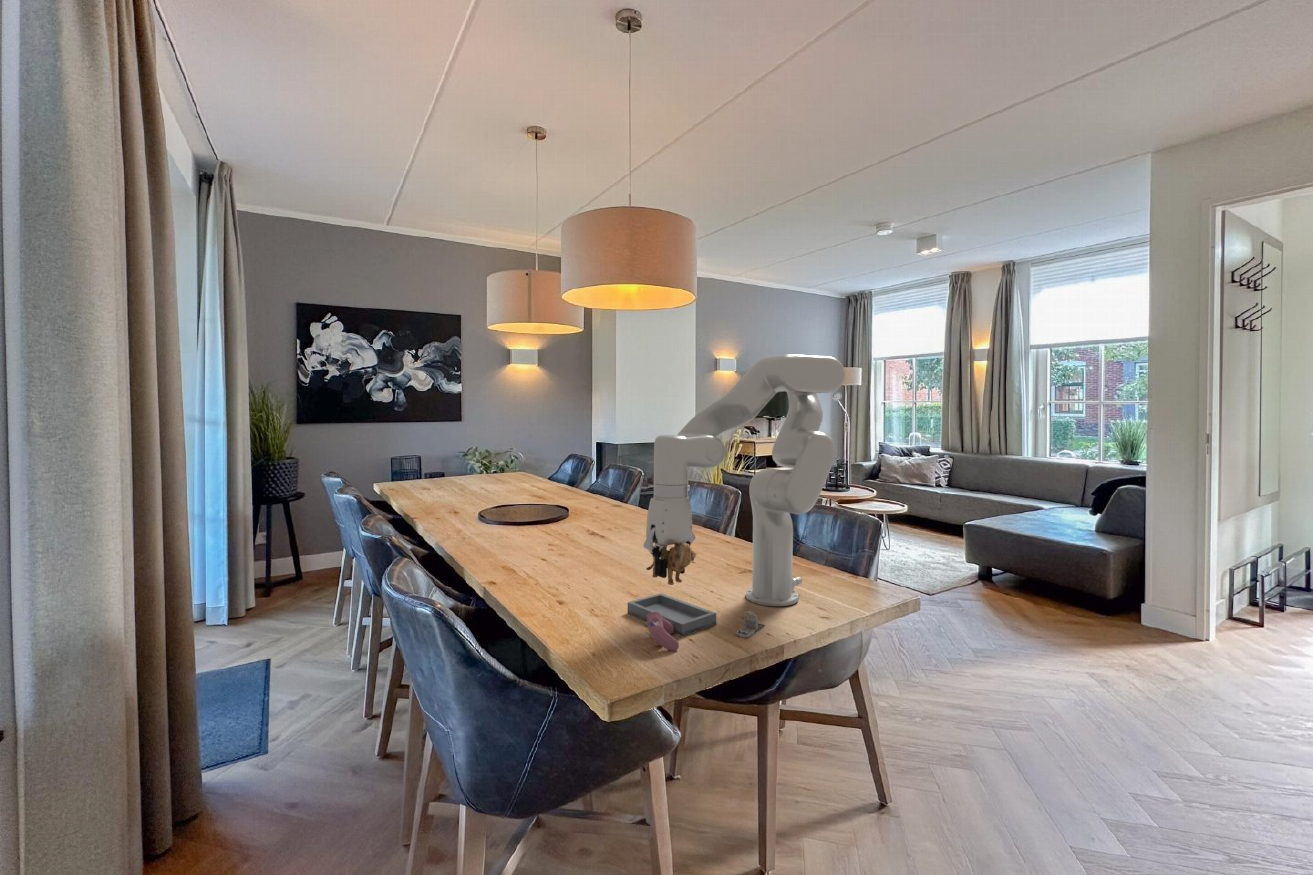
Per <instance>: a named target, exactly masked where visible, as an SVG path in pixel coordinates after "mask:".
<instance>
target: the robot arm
mask: <svg viewBox="0 0 1313 875" xmlns="http://www.w3.org/2000/svg"><path fill="white" fill-rule="evenodd" d="M845 379H846V372H845V368H844V366H843V364H842V362H840V360H839V359H837V358H835V357H832V356H828V355H826V356H825V355H807V354H794V353H793V354H792V353H791V354H790V353H789V354H788V353H787V354H779V355H769V356H764V357H762V358H760V359H758V360H757V361H756V362H755V363H754V364H752V366H751V367H750V368H749V369H748V370H747V371H746V373H744V374H743V376H742V377H741V378H740V379H739V380H738V381H737V382H736V384H735V385H734V386H732V388H731V389H730V390H729V391H728V392H727V393H725V395H723V396H722V397H721V398H719V399H717V400H716V401H714V402H713V403H711V404H710V405H709V406H707V407H705V408H704V409H703V410H701V411H699V412H698V413H697V414H696V415H694V416H693V417H692V418H691V419H690V420H689V421H688V422H687V423H686V424H685V425H684V426H683V427H682V429H680V430H679V432H678V433H677V434H664V435H663V434H661V435H658V436H657V437H655V439H654V443H653V444H654V445H653V446H654V447H653V497H651V498H650V501H649V505H648V510H647V518H646V530H645V533H646V534H645V541H644V542H643V544H642V546H643V547H644V548H643V549H646V550H647V551H649V553H650V554H651V555H652V557H654V558H655V575H656V576H657V577H659V578H662V579H665V578H668V570H667V560H666V559H665V554H666V549H667V548H668V546H671V545H673V547H675V546H676V545H679V544H682V543H687V544H689V545H690V546H691V545H692V544H693V542H694V541H695V540H696V535H695V533H694V532H693V514H692V506H691V499H690V497H689V491H690V489H691V486H690V484H689V468H698V469H700V468H701V469H712V468H715V467H717V466H719V465H720V464H721V463H722V462H723V461H724V459H725V457H726V454H727V453H726V450H727V449H726V446H725V444H724V442H723V441H722V439H721V438H719V437H717V436H719V435H721V434H723V433H724V432H727V431H729V430H732V429H735V428H739V427H741V426H743V425H746V424H747V423H749V422H751V421H753V420H754V419H755V418H756V417H757V416H758V414H759V413H760V412H761V411H762V410H763V409H764V408H765V407H766V405H767V404H768V403H769V402H770V401H771V400H772V399H773V398H774V397H775V395H776V394H778V393H781V392H786V394H787V398H788V399H787V400H788V404H789V405H788V406H789V407H788V410H787V414H786V416H785V419H784V421H783V423H782V426H781V428H780V430H779V432H778V434H777V437H776V438H775V439H776V440H775V441H774V443H773V447H772V450H771V456H772V460H773V462H775V464H776V465H778V466H780V467H782V468H787V469H791V471H789V470H786V469H785V470H784V469H778V468H765V469H761V470H759V471H757V473H755V474H754V475H753V476H752V477H751V480H750V481H749V485H748V486H749V488H748V490H749V499H750V504H751V512H752V587H751V588H749V589H747V590H746V592H745V597H746V599H747V600H748V601H749V602H752V603H754V604H756V605H762V606H768V607H787V606H792V605H794V604H796V603H797V602H799V600H800V598H799V597H800V596H799V594H798V593H797V591H795V590H794V588H795V587H797V586H799V585H800V586H801V584H802V583H803V580H802V578H801V577H800V576H796V577H793V558H794V556H793V550H794V549H793V548H794V542H793V541H794V525H793V520H792V517H791V514H794V515H803V514H807V513H808V512H809V511H811V510H812V509H813V507H814V506H815V505H816V503H817V501H818V499H819V497H820V495H821V493H822V490H823V488H824V486H825V484H826V482H827V480H828V476H829V474H830V471H831V470H832V468H833V465H834V460H835V455H836V454H835V452H836V450H835V445H834V441H833V440H832V438H831V437H830V436H829V435H828V434H827V433H825V432H822V431H820V428H821V426H822V422H823V417H824V416H823V415H824V412H823V407H822V405H821V402H820V400H819V396H818V394H829V393H833V392H835V391H837V390H839V389H840V388H841V386H842V385H843V384H844V381H845ZM660 547H661V550H660V551H659V548H660ZM667 550H668V549H667ZM685 569H686V567H685V568H684V570H683V571H681V572H680V575H681V574H685V572H686V570H685ZM674 572H675V573H676V571H674Z"/></svg>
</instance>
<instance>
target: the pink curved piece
mask: <svg viewBox="0 0 1313 875" xmlns="http://www.w3.org/2000/svg"><path fill="white" fill-rule="evenodd" d="M646 616H647V621H645V625H646V626H647V628H648V630H649V633H650V636H651V637H652V639H653V641H654V644H657V646H658V647H662V648H664V649H666V650H668V651H671V652H675V651H677V650H678V649H679V647H680V646H679V641H678V640H677V639H676V638H675V637H674V636H672V634H673V631H674V627H673V626H672V624H671V623H670V622H668V621H667V620H666V619H664V618H663V617H662V616H661V615H660V614H659V613H658V612H656V611H655V612H651V613H649V614H647V615H646Z"/></svg>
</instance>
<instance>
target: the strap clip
mask: <svg viewBox="0 0 1313 875" xmlns="http://www.w3.org/2000/svg"><path fill="white" fill-rule="evenodd" d="M747 615H750V616H754V618H752V617H748V616H747ZM758 619H759V618H758V615H757V613H755V612H753V611H749V610H748V611H745V612H744V614H743V621H744V623H743V624H744V627H741V628H740V629H738V630H737V631H736V633H735V636H736V635H737V636H736V637H738V636H740V637H739V638H742V637H745V638H744V639H749V637H750V636H751V637H753V636H754V635H755V634H756V632H759V631H761V630H762V628H763V629H764V628H765V627H764V626H765V624H763V623H759V621H758ZM760 625H763V626H760ZM754 633H755V634H754ZM753 634H754V635H753ZM752 635H753V636H752ZM751 637H750V638H751Z"/></svg>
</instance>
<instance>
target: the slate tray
mask: <svg viewBox="0 0 1313 875" xmlns="http://www.w3.org/2000/svg"><path fill="white" fill-rule="evenodd" d="M655 611H656V612H658V613H659V614H660V615H661V616H662V617H663V618H664V619H666V620H667V621H668V622H670V623H671V624H672V626H673V627H674V631H673V633H674V634H676V635H678V636H681V637H685V636H687V635H690V634H694V633H697V632H699V631H702V630H705V629H708V628H711V627H714V626H716V625H717V612H714V611H711V610H708V609H706V608H703V607H701V606H697V605H694V604H692V603H688V602H687V601H685V600H684V601H683V600H681V599H679V598H675V597H673V596H670V595H667V594H665V593H657V594H651V595H649V596H644V597H642V598H639V599H635V600H630V601H627V614H628V615H631V616H634V617H636V618H638V619H641V620H642V621H645V622H647V616H646V615H647V614H649V613H651V612H655ZM673 633H672V634H673Z"/></svg>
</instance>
